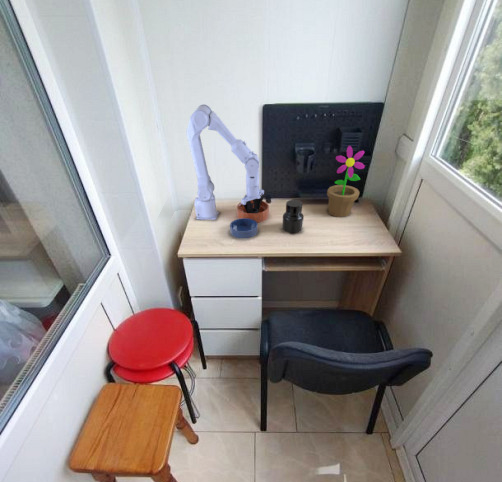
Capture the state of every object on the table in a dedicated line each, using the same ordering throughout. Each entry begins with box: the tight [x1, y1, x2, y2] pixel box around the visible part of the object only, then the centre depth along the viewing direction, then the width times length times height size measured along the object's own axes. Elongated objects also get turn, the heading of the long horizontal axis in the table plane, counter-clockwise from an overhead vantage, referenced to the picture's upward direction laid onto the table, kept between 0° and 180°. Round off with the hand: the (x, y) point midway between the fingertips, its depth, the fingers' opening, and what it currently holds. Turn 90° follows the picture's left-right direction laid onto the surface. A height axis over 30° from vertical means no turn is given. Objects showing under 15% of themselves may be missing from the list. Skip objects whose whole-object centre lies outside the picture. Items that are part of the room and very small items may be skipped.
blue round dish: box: [229, 218, 259, 239], centre depth 124 cm, size 12×12×4 cm
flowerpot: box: [326, 145, 366, 218], centre depth 127 cm, size 14×14×30 cm
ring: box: [252, 208, 258, 214], centre depth 134 cm, size 5×5×3 cm
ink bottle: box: [281, 199, 305, 234], centre depth 122 cm, size 10×9×12 cm
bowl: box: [236, 200, 270, 224], centre depth 134 cm, size 15×15×5 cm
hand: (253, 213), depth 134 cm, fingers closed on ring, 5 cm apart
